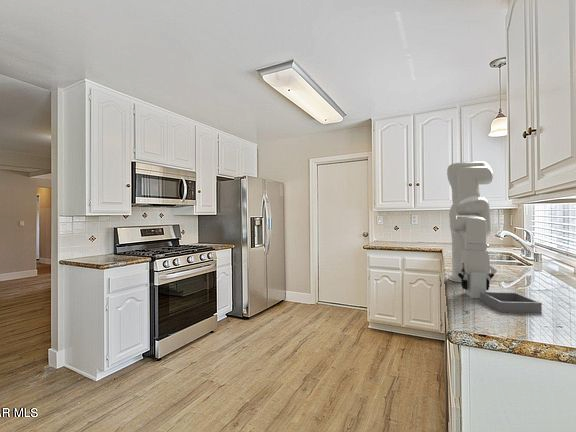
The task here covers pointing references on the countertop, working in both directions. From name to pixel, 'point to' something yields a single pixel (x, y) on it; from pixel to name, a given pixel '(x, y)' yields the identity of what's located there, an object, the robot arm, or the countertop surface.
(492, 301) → the tray
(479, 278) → the small box
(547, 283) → the countertop surface
